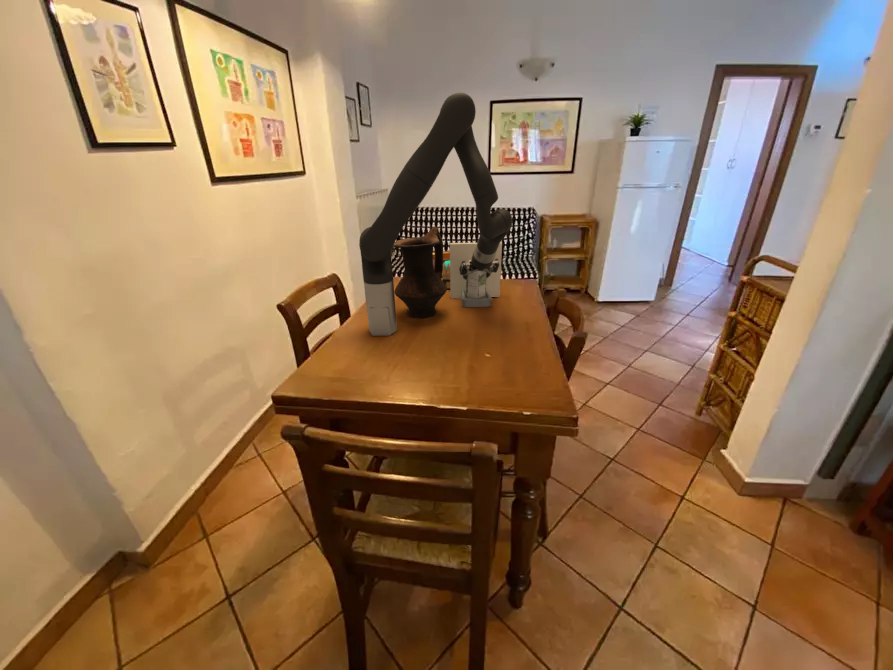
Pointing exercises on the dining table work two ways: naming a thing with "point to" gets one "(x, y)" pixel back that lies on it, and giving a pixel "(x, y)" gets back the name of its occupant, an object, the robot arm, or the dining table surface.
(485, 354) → the dining table surface
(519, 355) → the dining table surface
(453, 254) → the wall holder
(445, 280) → the ammunition clip
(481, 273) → the syrup box
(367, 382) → the dining table surface
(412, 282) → the jug
